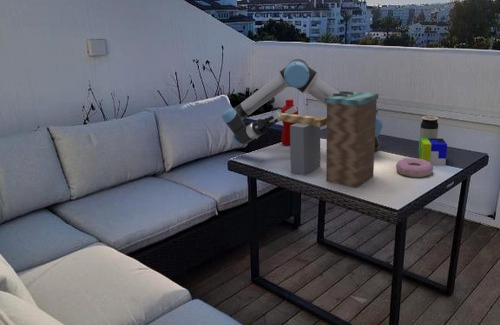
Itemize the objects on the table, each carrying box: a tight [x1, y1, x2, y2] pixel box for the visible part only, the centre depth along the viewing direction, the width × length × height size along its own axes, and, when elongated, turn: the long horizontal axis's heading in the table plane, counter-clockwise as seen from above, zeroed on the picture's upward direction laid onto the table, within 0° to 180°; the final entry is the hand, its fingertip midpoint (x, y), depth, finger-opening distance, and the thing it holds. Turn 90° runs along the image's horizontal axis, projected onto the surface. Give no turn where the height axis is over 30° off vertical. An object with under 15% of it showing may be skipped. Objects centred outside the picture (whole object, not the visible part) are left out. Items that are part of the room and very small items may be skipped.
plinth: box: [290, 123, 321, 176], centre depth 200 cm, size 7×14×22 cm, turn 140°
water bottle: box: [280, 98, 299, 147], centre depth 242 cm, size 9×11×25 cm
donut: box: [395, 157, 434, 178], centre depth 193 cm, size 16×15×5 cm
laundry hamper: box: [325, 90, 380, 189], centre depth 184 cm, size 15×17×37 cm
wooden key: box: [277, 112, 327, 128], centre depth 198 cm, size 24×7×3 cm, turn 50°
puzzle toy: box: [418, 137, 448, 166], centre depth 204 cm, size 10×10×10 cm
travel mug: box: [418, 115, 439, 148], centre depth 215 cm, size 8×8×18 cm
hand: (287, 111), depth 201 cm, fingers open, 13 cm apart
